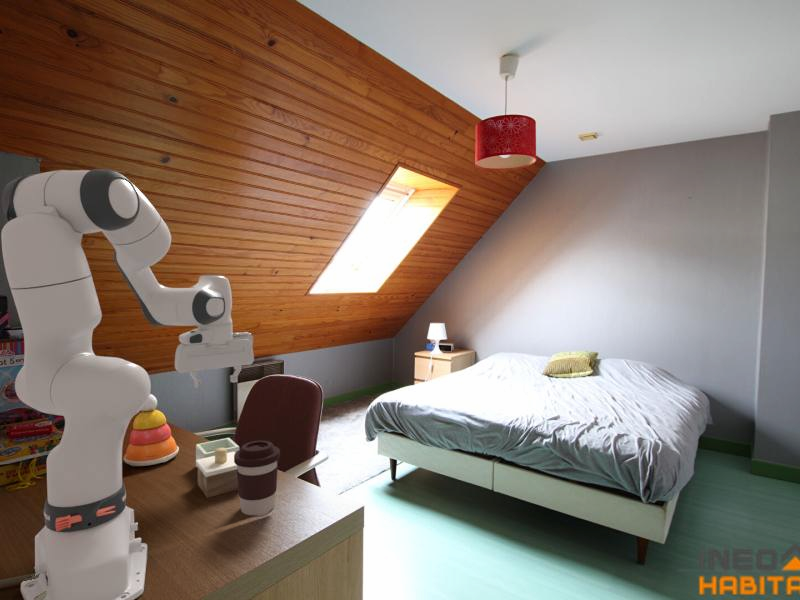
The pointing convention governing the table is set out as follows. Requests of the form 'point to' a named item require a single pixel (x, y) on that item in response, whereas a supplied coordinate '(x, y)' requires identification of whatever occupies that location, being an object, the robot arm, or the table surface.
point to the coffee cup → (257, 477)
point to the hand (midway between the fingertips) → (216, 384)
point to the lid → (217, 463)
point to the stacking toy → (150, 438)
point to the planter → (209, 448)
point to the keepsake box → (217, 483)
